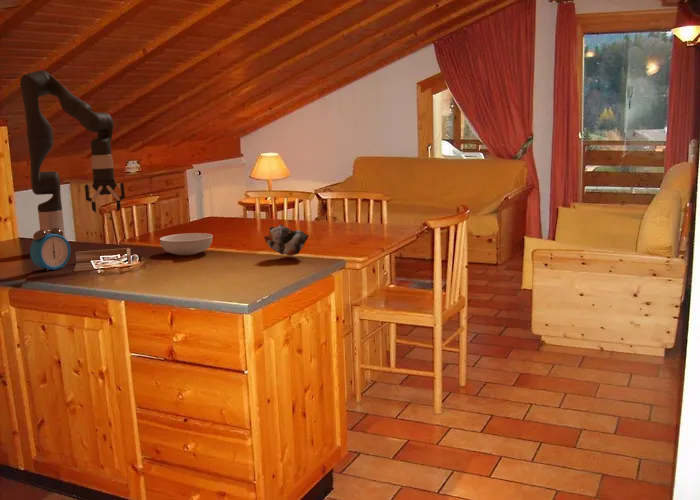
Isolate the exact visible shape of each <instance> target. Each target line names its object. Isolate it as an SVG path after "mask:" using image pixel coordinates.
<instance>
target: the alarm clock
mask: <svg viewBox="0 0 700 500" xmlns="http://www.w3.org/2000/svg"><path fill="white" fill-rule="evenodd" d="M49 231H50V233H52V234H49ZM47 232H48V233H46V231H44V230H40V229H39V230H37V231H35V232H34V234H33V235H32V238H33V240H32V242H31V243H30V244H31V245H30V248H29V255H30V260H31V261H32V263H33V264H34V265H35V266H37V267H38V268H40V269H43V270H46V272H49V271H50V270H56V271H57V270H59V269H61V268H63V269H65V265H66V264H67V263H68V262H69V259H70V256H71V246H70V243H69V242H68V240H67V239H66V237H65V238H64V237H63V235H64V234H63V231H62V230H61V229H59V228H53V229H51V230H48V231H47Z"/></svg>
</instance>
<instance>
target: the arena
mask: <svg viewBox="0 0 700 500" xmlns="http://www.w3.org/2000/svg"><path fill="white" fill-rule="evenodd" d="M74 254H75V261H76V262H75V266H74V268H73V272H76V273H77V272H87V271H96V270H95V269H94V268H93V267H92V266H91V265H90V261H91V260H99V259H100V256H102V255H103V256H104V255H117V254H120V255H124V254H127V260H128V264H131V265H132V259H131V258H132V254H131V248H130V247H125V248H124V247H123V248H113V249H110V248H109V249H101V250H100V249H97V250H86V251H76V252H75V253H74Z"/></svg>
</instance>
